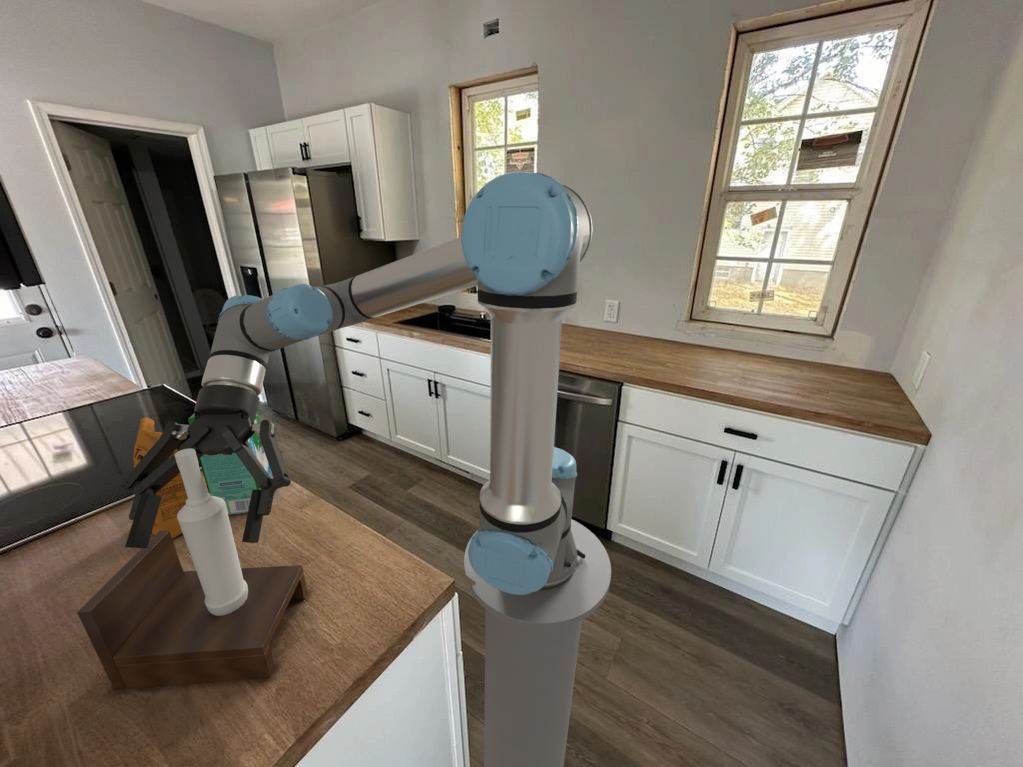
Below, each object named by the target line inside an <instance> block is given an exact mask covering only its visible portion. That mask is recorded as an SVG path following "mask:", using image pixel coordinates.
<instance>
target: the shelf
mask: <svg viewBox="0 0 1023 767" xmlns="http://www.w3.org/2000/svg"><path fill="white" fill-rule="evenodd" d="M178 555H179V554H178V551H177V549H176V546H175V543H174V540H173V539H172V537H171V534H170V531H158V532H157V533H156V534H155V535H153V536H152V537H150V540H149V544H148V547H147V548H139V550H138V551H137V552H136V553H135V554H134V555H133V556H132V557H131V558H130V559H129V560H127V562H126V563H125V564H124V565H122V567H121V568H120V569H119V570H118V571H117V572H115V574H114V575H112V577H111V578H110V579H109V580H107V582H106V583H105V584H104V585H103V586H102V587H100V589H99V590H98V591H96V593H95V594H93V596H92V597H91V598H90V599H88V600H87V601H86V602H85V604H84V605H82V607H81V608H80V609H79V610H78V611H77V612H76V613H77V615H78V618H79V620H80V622H81V624H82V626H83V628H84V630H85V633H86V634H87V637H88V639H89V641H90V643H91V646H92V647H93V649H94V651H95V653H96V655H97V657H98V659H99V662H100V664H101V666H102V668H103V670H104V672H105V675H106V676H107V678H108V680H109V683H110V684H111V686H112V688H113V690H114V691H121V690H133V689H145V688H156V687H157V688H158V687H170V686H183V685H195V684H196V685H197V684H198V685H199V684H209V683H210V684H211V683H222V682H235V681H247V680H249V681H250V680H257V679H258V680H261V679H270V678H271V677H272V676H273V673H274V670H275V668H276V664H275V661H274V657H273V654H272V650H271V646H270V643H271V642H272V640H273V638H274V636H275V633H276V632H277V629H278V627H279V625H280V622H281V620H282V619H283V616H284V615H285V612H286V610H287V608H288V606H289V603H290V602H291V601H292V602H294V601H305V600H306V597H307V595H308V589H307V588H308V587H307V582H306V579H305V573H304V567H303V565H302V564H298V565H296V564H295V565H281V566H280V565H278V566H259V567H241V571H242V575H243V580H245V582H246V583H247V586H248V596H247V599H246V601H245V602H244V604H243V605H242V606H241V607H239V608H238V609H237V610H235V611H233V612H231V613H229V614H226V615H221V616H216V615H213V614H211V613H210V612H209V611H208V609H207V607H206V604H205V602H204V601H205V597H206V596H205V594H204V591H203V588H202V585H201V583H200V580H199V577H198V574H197V571H196V570H183V566H182V563H181V561H180V558H179V556H178Z"/></svg>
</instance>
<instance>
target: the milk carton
mask: <svg viewBox="0 0 1023 767" xmlns="http://www.w3.org/2000/svg"><path fill="white" fill-rule="evenodd" d="M194 417H195V413H192V414H191V416H190V417H188V418H187V421H188V425H190V424H191V423H192V422H193V420H194ZM257 423H261V418H260V414H259V410H257V415H256V418H255V419H254V424H257ZM247 444H248V445H249V446H250V448H251V449H252V451H253V453H254V455H255V456H256V458H257V459H258V460H259V462H260V463H261V464H262V466H263V467H264V469H265V470H266V471H267V473H268V474H269V475H270V477H271V478H273V475H272V472H271V469H270V466H269V463H268V461H267V458H266V455H265V452H264V449H263V446H262V443H261V440H260V437H259V436H257V435H256V432H255V433H254V434H253V436H252V437H251V438H250V439H249V440H248V441H247ZM198 461H199V464H200V468H201V471H202V474H203V478H204V481H205V486H206V488H207V489H206V490H207V492H208V493H210V494H211V496H215V497H219V498H222V499H223V500H224V501H225V504H226V508H227V512H228V516H229V515H230V516H231V515H238V514H246V513H248V509H249V504H250V499H251V494H252V490H261V488H259V487H257V486H259V485H258V484H257V482H256V481H255V480H254V478H253V477H252V475H251V474H250V473H249V471H248V470H247V468H246V467H245V465H244V464H243V463H242V461H241V460H240V458H239V457H238V456H237V454H236V453H232V455H224V454H218V455H207V454H204V455H203V456H202V457H201V458H199V459H198Z"/></svg>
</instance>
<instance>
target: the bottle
mask: <svg viewBox="0 0 1023 767" xmlns="http://www.w3.org/2000/svg"><path fill="white" fill-rule="evenodd" d="M194 449H195V448H193V449H184V450H180V451H178V452H177V453H175V459H176V462H177V465H178V468H179V470H180V473H181V476H182V480H183V483H184V486H185V490H186V493H187V496H188V499H187V500H186V504H185V506H184V507H183V508H182V509H181V510H180V511H179V512H178V514H177V519H178V521H179V524H180V527H181V530H182V535H183V537H184V541H185V543H186V546H187V549H188V552H189V554H190V557H191V560H192V563H193V565H194V568H195V571H197V574H198V577H199V580H200V583H201V585H202V588H203V591H204V594H205V596H206V597H205V601H204V602H205V604H206V607H207V609H208V611H209V612H210V613H211V614H213V615H216V616H221V615H226V614H229V613H231V612H233V611H235V610H237V609H238V608H239V607H241V606H242V605H243V604H244V602H245V601H246V599H247V596H248V586H247V583H246V582H245V580H243V575H242V571H241V568H242V566H241V562H240V560H239V554H238V550H237V546H236V542H235V538H234V534H233V529H232V525H231V521H230V516H229V515H228V512H227V508H226V504H225V501H224V500H223V499H222V498H219V497H215V496H211V494H210V493H209V492H208V491H207V489H206V484H205V483H204V479H203V478H204V477H203V475H202V472H201V471H202V470H201V467H200V465H199V464H200V461H199V459H197V455H196V452H195V450H194Z"/></svg>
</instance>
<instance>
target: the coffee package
mask: <svg viewBox="0 0 1023 767" xmlns="http://www.w3.org/2000/svg"><path fill="white" fill-rule="evenodd" d="M155 424H156V423H155V420H153V419H151V418H149V417H146V416H145V417H142V418H141V419H140V422H139V428H138V432H137V435H136V440H135V444H134V447H133V448H134V449H133V469H134V468H135V466H136V465H137V464H138V463H139V462H140V461H141V459H142V458H143V457H144V456H145V455H146V453H147V452H148V451H149V450H150V449H151V448H152V446H153V445H154V444H155V443H156V442H157V441H158V439H159V438H160V437H161V436H162V433H163V432H161V431H155ZM178 450H179V448H177V449H176V450H175V451H174V452H173V453H172V455H173V454H175V453H176V452H177V451H178ZM172 455H171V456H172ZM171 456H170V457H171ZM170 457H169V458H170ZM169 458H168V459H169ZM168 459H167V460H168ZM157 495H159V496H162V498H161V502H160V505H159V509H158V512H157V516H156V519H155V523H154V526H153V530H152V533H151V535H153V536H154V535H155V534H156V533H157V532H158V531H170V534H171V537H172V540H173V539H175V538H176V537H178V536H181V535H183V533H182V530H181V527H180V524H179V521H178V519H177V514H178V512H179V511H180V510H181V509H182V508H183V507H184V506H185V504H186V500H187V499H188V496H187V493H186V490H185V486H184V483H183V480H182V476H181V473H179V474H178V475H177V476H176V477H175V478H173V479H172V480H171V481H170V482H169V483H168V484H167V485H165V486H164V487H163V488H162V489H161V490H160V491H158V492H157Z"/></svg>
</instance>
